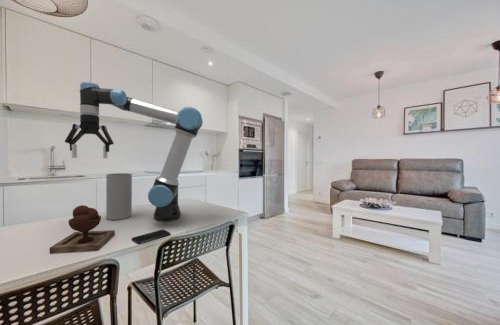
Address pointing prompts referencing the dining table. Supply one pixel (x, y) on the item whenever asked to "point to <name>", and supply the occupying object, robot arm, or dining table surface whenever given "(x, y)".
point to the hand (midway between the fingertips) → (90, 158)
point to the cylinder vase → (118, 196)
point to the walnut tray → (72, 246)
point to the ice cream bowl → (84, 221)
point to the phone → (150, 236)
